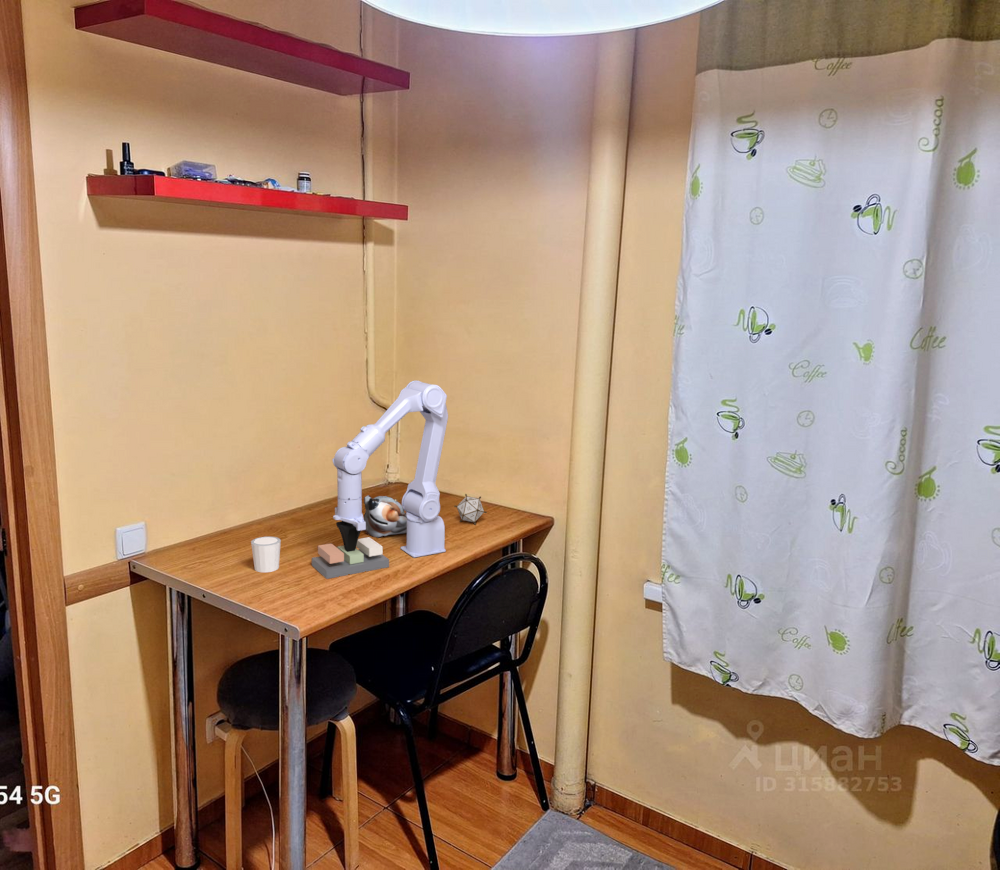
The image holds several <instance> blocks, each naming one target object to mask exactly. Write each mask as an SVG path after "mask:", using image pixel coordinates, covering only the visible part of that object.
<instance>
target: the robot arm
mask: <svg viewBox="0 0 1000 870" xmlns="http://www.w3.org/2000/svg"><path fill="white" fill-rule="evenodd" d="M405 386H406V387H404V388H403V389H401V390H400V393H399V395H398V397H397V398H396V399H395V400H394V402H393V403H391V405H390V406H389V407H388V408H387V409H386V411H385V412H384V413H383V414H382V415H381V416H380V418H379V419H377V421H376V422H375V423H373V424H372V423H371V424H367V425H366V426H364V425H363V426H362V427H361V428H360V429H359V430H360V432H358V434H357V435H355V437H354V438H353V439H352V440H351V441H350V440H349V441H348V442H347V443H346V446H343V447H340V448H339V449H338V450H337V451H336V452H335V454H334V457H333V458H332V464H333V466H334V467H335V468H336V471H337V475H336V476H337V478H336V479H337V506H336V507H334V515H333V516H332V517H333V518H332V519H334V520H335V521H337V522H336V523H335V524H336V526H337V528H338V530H339V532H340V536H341V539H342V543H343V545H344V548H345V550H346V551H347V552H349V551H355V549H357V547H356V545H357V541H358V539H359V537H360V534H361V532H362V531H365V530H366V522H365V521H364V514H363V512H362V511H363V501H362V499H363V498H362V496H363V493H362V492H363V491H362V489H363V488H362V485H363V484H362V482H363V480H362V471H364V470H365V468H366V466H367V462H368V460H369V459H370V457H371V456H372V455H373V454H374V453H375V452H376V451H377V449H379V447H380V446H382V444H383V443H384V442H386V433H387V432H389V431H390V430H391V429H392V428H393V427H394V426H396V425H397V423H399V422H400V421H401V420H402V419H403V418H404V417H405V416H406V415H407V414H408V413H416V412H419V413H420V414H421V416H422V417H423V418H424V419H425V422H424V427H423V432H422V438H421V444H420V448H419V452H418V458H417V464H416V470H415V474H414V479H413V480H412V481H411V482H409V483H408V485H407V489H406V491H405V492H404V494H403V496H402V499H401V505H402V507H403V509H404V512H405V513H406V516H407V533H406V545H404V546H400V548H399V549H400V550H401V551H403V552H405V553H407V554H408V555H409V556H411V557H412V558H419V557H424V556H430V555H435V554H440V553H445V552H446V551H447V549H446V548H445V541H446V540H445V537H446V535H445V534H446V533H445V532H446V531H445V529H446V527H445V522H444V519H443V518H442V517H441V516H440V515H439V514H440V511H441V504H440V495H441V493H440V491H439V488H438V487H437V484H436V481H437V476H438V473H439V472H438V471H439V466H440V460H441V455H442V451H443V447H444V440H445V434H446V430H447V423H448V420H449V412H448V408H447V404H446V402H447V399H448V395H447V394H446V392H445V391H444V390H443V388H441V387H440V386H439V385H438V384H432V383H428V382H423V381H420V380H412V381H410V382H409V383H407V385H405Z"/></svg>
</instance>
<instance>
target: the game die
mask: <svg viewBox="0 0 1000 870" xmlns="http://www.w3.org/2000/svg"><path fill="white" fill-rule="evenodd" d="M464 495H465V497H464V498H463V499H462V500H461V501H460V502H459V503H458V504H457V505H455V504H454V505H453V507H454V508H456V509H457V511H458V515H459V517H460V520H459V523H462V521H465V522H469V523H473V525H475V526H476V525H477V523H476V522H477V520H479V518H480V517H482V515H484V513H485V514H487V513H488V512H487V511H485V510H484V506H483V504H482V501H481V499H482V495H481V496H479V497H475V496H474V497H473V496H468V494H467V493H465V494H464Z"/></svg>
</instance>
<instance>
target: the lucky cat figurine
mask: <svg viewBox="0 0 1000 870" xmlns="http://www.w3.org/2000/svg"><path fill="white" fill-rule="evenodd" d="M398 501H399V500H398V499H395V498H394V499H393V498H392V497H389V496H387V495H378V496H375V497H373V498H372V497H371V495H366V496H364V497H363V504H364V509H365V512H364V514H363V519H364V521H365V522H366V530H364V531H365V534H366V535H368V534H369V536H371V537H373V538H376V537H377V538H376V539H378V538H381V537H383V536H384V537H387V536H391V535H400V534H407V516H406V512H405V510H404V509H403V507H402V503H400V502H398Z"/></svg>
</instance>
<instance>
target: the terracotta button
mask: <svg viewBox="0 0 1000 870" xmlns="http://www.w3.org/2000/svg"><path fill="white" fill-rule="evenodd" d="M337 547H338V546H335V545H334V544H333V543H326V544H319V545H317V554H318V555H319V556H321V557H323V558H324V559H325V560H326V561H327V562H328V563H330V564H332V563H337V562H343V561H344V553H343V552H342V551H340V550H339V549H338V548H337Z"/></svg>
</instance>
